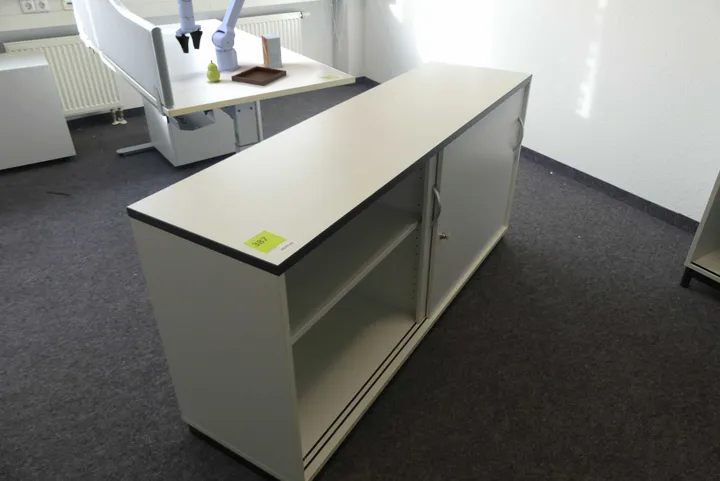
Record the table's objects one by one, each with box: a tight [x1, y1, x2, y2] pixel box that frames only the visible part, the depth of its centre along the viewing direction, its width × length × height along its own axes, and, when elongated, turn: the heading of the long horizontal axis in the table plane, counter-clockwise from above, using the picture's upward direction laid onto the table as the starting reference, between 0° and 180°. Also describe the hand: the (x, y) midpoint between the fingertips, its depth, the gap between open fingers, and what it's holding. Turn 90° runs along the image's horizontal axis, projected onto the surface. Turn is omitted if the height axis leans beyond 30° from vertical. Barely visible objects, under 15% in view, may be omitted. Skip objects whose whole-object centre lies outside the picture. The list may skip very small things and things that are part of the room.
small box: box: [260, 33, 283, 69], centre depth 248 cm, size 8×6×13 cm
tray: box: [231, 65, 288, 87], centre depth 234 cm, size 18×16×2 cm
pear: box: [206, 59, 221, 83], centre depth 228 cm, size 5×5×9 cm
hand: (191, 51), depth 232 cm, fingers open, 7 cm apart
